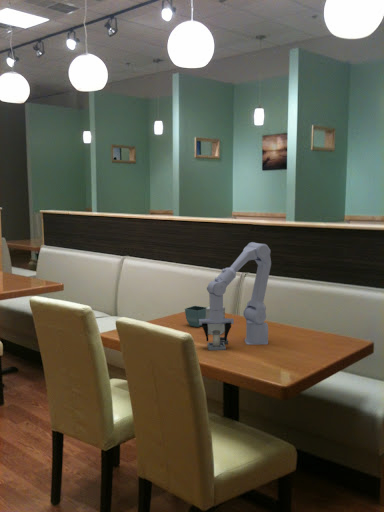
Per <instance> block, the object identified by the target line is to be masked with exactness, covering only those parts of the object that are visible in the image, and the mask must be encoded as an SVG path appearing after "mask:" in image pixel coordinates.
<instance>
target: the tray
mask: <svg viewBox="0 0 384 512" xmlns="http://www.w3.org/2000/svg"><path fill="white" fill-rule="evenodd" d="M206 346H207V349H208V351H227V347H226V345H225V344H224V342H220V347H213V342H207V345H206Z"/></svg>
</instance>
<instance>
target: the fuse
mask: <svg viewBox="0 0 384 512" xmlns="http://www.w3.org/2000/svg"><path fill="white" fill-rule="evenodd" d="M220 337H221V335H220V331H219V330H214V331H213V335H212V343H213V347H220Z"/></svg>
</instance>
